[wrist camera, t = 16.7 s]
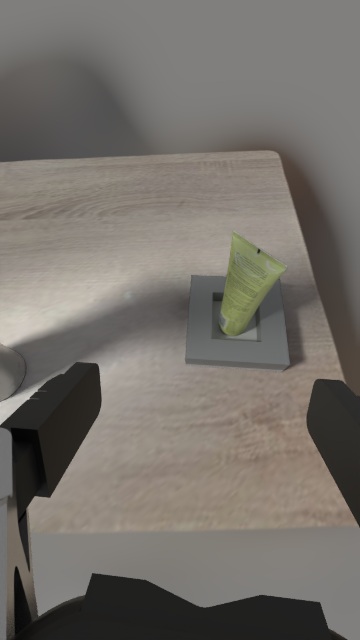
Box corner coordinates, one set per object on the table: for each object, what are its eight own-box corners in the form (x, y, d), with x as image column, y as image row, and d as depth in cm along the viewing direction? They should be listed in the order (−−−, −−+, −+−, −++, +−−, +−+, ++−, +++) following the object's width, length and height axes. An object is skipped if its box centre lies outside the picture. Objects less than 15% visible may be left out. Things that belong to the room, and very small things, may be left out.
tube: (248, 312, 47) (283, 230, 29) (250, 337, 44) (288, 266, 27) (217, 311, 47) (232, 230, 30) (217, 336, 45) (234, 264, 27)
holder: (185, 365, 44) (185, 358, 40) (191, 287, 51) (191, 275, 47) (281, 371, 42) (289, 364, 39) (273, 291, 50) (280, 278, 46)
